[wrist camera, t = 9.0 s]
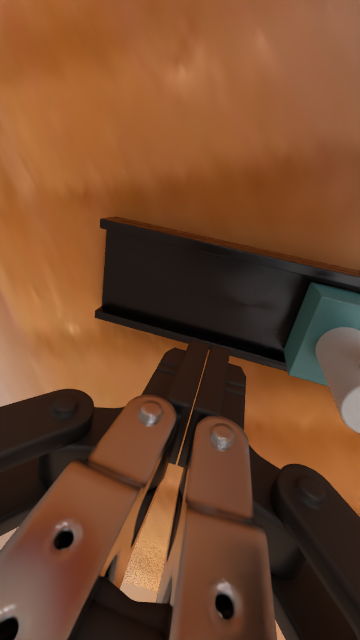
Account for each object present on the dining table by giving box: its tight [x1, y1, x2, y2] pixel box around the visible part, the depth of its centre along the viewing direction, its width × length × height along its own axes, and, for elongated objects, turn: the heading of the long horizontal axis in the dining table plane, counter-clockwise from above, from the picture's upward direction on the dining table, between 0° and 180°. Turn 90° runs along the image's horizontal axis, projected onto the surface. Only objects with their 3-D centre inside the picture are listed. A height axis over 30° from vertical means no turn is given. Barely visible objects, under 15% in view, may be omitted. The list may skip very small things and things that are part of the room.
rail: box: [95, 217, 360, 372], centre depth 18 cm, size 7×21×3 cm, turn 80°
